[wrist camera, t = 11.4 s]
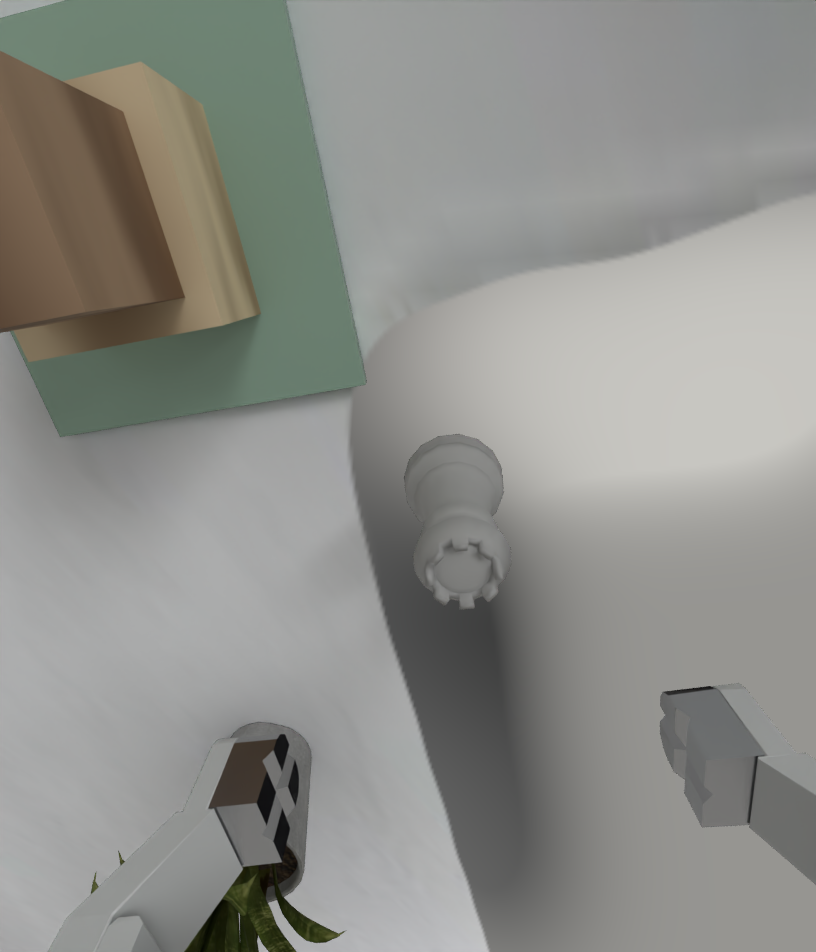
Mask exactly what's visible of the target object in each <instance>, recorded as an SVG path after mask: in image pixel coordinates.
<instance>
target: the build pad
mask: <svg viewBox="0 0 816 952" xmlns="http://www.w3.org/2000/svg"><path fill="white" fill-rule="evenodd" d="M0 51H2V52H4V53H6V54H8V55H10V56H12V57H14V58H16V59H18V60H20V61H22V62H24V63H26V64H28V65H30V66H32V67H34V68H36V69H38V70H40V71H42V72H44V73H46V74H48V75H50V76H52V77H54V78H57V79H59V80H61V81H66V80H70V79H74V78H78V77H82V76H85V75H89V74H93V73H97V72H101V71H105V70H109V69H113V68H117V67H121V66H125V65H129V64H133V63H137V62H142V63H144V64H145V65H147V66H148V67H150V68H151V69H152V70H154V71H155V72H157V73H158V74H160V75H161V76H162V77H164V78H165V79H167V80H168V81H170V82H171V83H172V84H174V85H175V86H177V87H178V88H180V89H181V90H182V91H184V92H185V93H187V94H188V95H190V96H191V97H193V98H194V99H195V100H197V101H198V102H200V103H201V104H202V105H203V108H204V112H205V115H206V119H207V122H208V126H209V129H210V133H211V137H212V140H213V144H214V147H215V151H216V154H217V158H218V162H219V165H220V169H221V172H222V176H223V179H224V183H225V186H226V190H227V194H228V197H229V201H230V204H231V208H232V211H233V215H234V219H235V222H236V226H237V229H238V233H239V236H240V240H241V243H242V247H243V251H244V254H245V258H246V261H247V265H248V268H249V272H250V276H251V279H252V283H253V286H254V290H255V293H256V297H257V300H258V304H259V308H260V311H261V314H259V315H256V316H252V317H249V318H246V319H242V320H239V321H236V322H233V323H229V324H226V325H223V326H217V327H212V328H207V329H202V330H196V331H191V332H186V333H181V334H175V335H170V336H165V337H160V338H154V339H149V340H144V341H138V342H133V343H128V344H123V345H117V346H112V347H107V348H102V349H96V350H91V351H86V352H81V353H75V354H70V355H65V356H60V357H54V358H49V359H44V360H38V361H33V362H28V360H27V358H26V356H25V354H24V352H23V350H22V348H21V345H20V343H19V341H18V339H17V337H16V335H15V333H14V331H10V332H11V334H12V336H13V338H14V340H15V342H16V345H17V347H18V349H19V351H20V353H21V355H22V357H23V359H24V361H25V364H26V366H27V368H28V370H29V372H30V374H31V376H32V378H33V380H34V383H35V385H36V387H37V389H38V391H39V393H40V395H41V397H42V399H43V402H44V404H45V406H46V408H47V410H48V412H49V414H50V416H51V418H52V421H53V423H54V425H55V427H56V429H57V431H58V433H59V435H60V437H64V436H70V435H76V434H81V433H87V432H93V431H99V430H105V429H111V428H116V427H122V426H128V425H134V424H140V423H146V422H151V421H157V420H163V419H169V418H175V417H181V416H186V415H192V414H198V413H204V412H210V411H216V410H221V409H227V408H233V407H239V406H245V405H251V404H256V403H262V402H268V401H274V400H280V399H286V398H291V397H297V396H303V395H309V394H315V393H321V392H326V391H332V390H338V389H344V388H350V387H356V386H361V385H365V384H366V381H367V380H366V376H365V371H364V366H363V361H362V357H361V352H360V347H359V343H358V338H357V333H356V329H355V324H354V319H353V314H352V310H351V305H350V300H349V296H348V291H347V286H346V282H345V277H344V272H343V268H342V263H341V258H340V253H339V249H338V244H337V239H336V235H335V230H334V225H333V221H332V216H331V211H330V206H329V202H328V197H327V192H326V188H325V183H324V178H323V174H322V169H321V164H320V160H319V155H318V150H317V145H316V141H315V136H314V131H313V127H312V122H311V117H310V113H309V108H308V103H307V98H306V94H305V89H304V84H303V80H302V75H301V70H300V66H299V61H298V56H297V52H296V47H295V42H294V37H293V33H292V28H291V23H290V19H289V14H288V9H287V5H286V0H66V1H62V2H58V3H54V4H51V5H47V6H43V7H40V8H36V9H32V10H29V11H25V12H21V13H18V14H14V15H10V16H7V17H3V18H0Z"/></svg>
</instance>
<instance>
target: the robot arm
mask: <svg viewBox="0 0 816 952" xmlns="http://www.w3.org/2000/svg"><path fill="white" fill-rule="evenodd" d="M660 706H661V708H662V710H663V712H664V714H665V716H664V718H663V719H662V720H661V721H660V735H661V739H662V743H663V748H664V751H665V753H666V756H667V759H668V761H669V763H670V765H671V767H672V769H673V771H674V772H675V773H676V774H678V775H679V776H680V777H682V778H683V779H685V790H684V791H685V792H684V793H685V795H686V797H687V799H688V801H689V803H690V805H691V807H692V809H693V811H694V813H695V815H696V817H697V819H698V821H699V823H700V825H701V827H717V826H736V825H750V826H749V827H750V828H751V829H752V830H753V831H754V832H755V833H756V834H758V835H759V836H760V837H761V838H762V839H763V840H765V841H766V842H767V843H768V844H769V845H770V846H771V847H773V848H774V849H775V850H776V851H777V852H778V853H780V854H781V855H782V856H783V857H785V859H787V860H788V861H789V862H790V863H791V864H792V865H794V866H795V867H796V868H797V869H798V870H799V871H800V872H802V873H803V874H804V875H805V876H806V877H807V878H809V879H810V880H811V881H812V882H813V883H814V884H815V885H816V759H815V758H813V757H811V756H810V755H808V754H806V753H796V752H795V751H794V749H793V748H792V747H791V745H790V744H789V743H788V742H787V741H786V739H785V738H784V736H783V735H782V734H781V733H780V732H779V730H778V729H777V728H776V726H775V725H774V724H773V722H772V721H771V720H770V719H769V717H768V716H767V715H766V714H765V712H764V711H763V710H762V708H761V707H760V706H759V705H758V703H757V702H756V701H755V700H754V698H753V697H752V696H751V694H750V693H749V692H748V691H747V689H746V688H745V687H744V686H742V685H741V684H739V683H737V684H728V685H719V686H713V687H711V686H707V687H700V688H692V689H683V690H674V691H666V692H663V693H662V694H661V699H660ZM288 749H289V742H288V740H287V738H286V735H285V734H273V735H261V736H248V737H239V738H227V739H218V740H217V741H216V742H215V743H214V744H213V746H212V747H211V749H210V752H209V754H208V756H207V758H206V761H205V763H204V765H203V767H202V769H201V772H200V774H199V776H198V778H197V781H196V783H195V785H194V787H193V790H192V792H191V794H190V796H189V798H188V801H187V803H186V805H185V807H184V810H183V812H176V813H175V814H174V815H173V816H172V817H171V818H170V819H169V820H168V821H167V822H166V823H165V824H164V825H162V826H161V827H160V828H159V829H158V830H157V831H156V832H155V833H154V834H153V835H152V836H151V837H150V838H149V839H148V840H147V841H146V842H145V843H144V844H143V845H142V846H141V847H140V848H139V849H138V850H137V851H136V852H135V853H133V854H132V855H131V856H130V857H129V858H128V859H127V860H126V861H125V862H124V863H123V864H122V865H121V866H120V867H119V868H118V869H117V870H116V871H115V872H114V873H113V874H112V875H111V876H110V877H109V878H108V879H107V880H106V881H104V882H103V883H102V884H101V885H100V886H99V887H98V888H97V889H96V890H95V891H94V892H93V893H92V894H91V895H90V896H89V897H88V898H87V899H86V900H85V901H84V902H83V903H82V904H81V905H80V906H79V907H78V908H77V909H76V910H74V911H73V912H72V913H71V914H70V915H69V916H68V917H67V918H66V920H65V922H64V923H63V925H62V927H61V929H60V931H59V932H58V934H57V936H56V938H55V940H54V941H53V943H52V945H51V947H50V949H49V950H48V952H184V951H185V950H186V949H187V947H188V946H189V944H190V943H191V942H192V940H193V939H194V937H195V936H196V935H197V933H198V932H199V930H200V929H201V928H202V926H203V925H204V923H205V922H206V921H207V919H208V918H209V916H210V915H211V913H212V912H213V911H214V909H215V908H216V906H217V905H218V904H219V902H220V901H221V899H222V898H223V897H224V895H225V894H226V892H227V891H228V890H229V888H230V887H231V885H232V884H233V883H234V881H235V880H236V878H237V877H238V876H239V874H240V873H241V871H242V870H243V868H242V867H245V866H253V865H262V864H271V863H279V862H282V861H283V856H284V852H285V848H286V844H287V840H288V836H289V832H290V826H289V824H288V821H287V819H286V817H287V816H288V815H289V814H290V813H291V811H292V810H293V809H294V808H295V807H296V802H297V798H298V793H299V773H298V767H297V764H296V761H295V759H294V758H293V757H291V756H290V755H288V754H287V752H288Z"/></svg>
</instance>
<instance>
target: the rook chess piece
mask: <svg viewBox="0 0 816 952" xmlns="http://www.w3.org/2000/svg"><path fill="white" fill-rule="evenodd" d="M404 480H405V490H406V497H407V503H408V504H409V506H410V508H411V509H412V511H413V512H414V514H415V515H416V517H417V519H418V520H419V521H421V522H422V523H423V528H422V531H421V534H420V535H421V538H420V539H419V540H418V542H417V545H416V548H415V552H414V555H413V561H414V567H415V573H416V574H417V576H418V577H419V579H420V580H421V582H422V583H423V585H424V586H425V587H426V588H428V589H429V590H431V591H432V592H433V598H434V599H435V600H437V601H438V602H440V603H441V604H443V605H444V606H445V605H446V604H447V603H448V601H449V599H453V600H457V601H459V607H460V610H461V609H473V608H475V605H474V599H477V598H479V597H481V596H483V597H484V598H485V599H486V600H487V601H488V602H490V601H491V600H492V599H493V598H494V597H495V596H496V595H497V594H498V593H499V591H498V586H499V585H500V584H501V583H502V582H503V581H504V580H505V578H506V576H507V573H508V571H509V569H510V566H511V548H510V546H509V544H508V542H507V540H506V539H505V537H504V535H503V533H502V532H501V531H499V530H498V526H497V525H496V523H495V521H494V519H493V517H492V516H493V515H494V514H495V513H496V512H497V509H498V506H499V504H500V501H501V499H502V496H503V493H504V492H503V475H502V469H501V465H500V463H499V462H498V460H497V458H496V456H495V454H494V452H493V451H492V450H491V449H489V448H488V447H487V446H486V445H484V444H483V443H482V442H481V441H479V440H478V439H475V438H471V437H467V436H464V435H460V434H455V435H446V436H438V437H436V438H434V439H433V440H431V441H429V442H427V443H425V444H423V445H421V446H420V447H419V449H418V450H417V451H416V452H415V453H414V455H413V456H412V457H411V458H410V459H409V462H408V465H407V469H406V472H405V476H404Z"/></svg>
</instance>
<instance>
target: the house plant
mask: <svg viewBox="0 0 816 952" xmlns="http://www.w3.org/2000/svg"><path fill="white" fill-rule="evenodd" d="M273 734H285V735H286V738H287V740H288V742H289V749H288V752H287V754H288V755H290V756H291V757H293V758H294V759H295V761H296V764H297V767H298V773H299V793H298V798H297V802H296V807H295V808H294V809H293V810H292V811H291V813H290V814H289V815H288V816H287V817H286V819H287V821H288V824H289V826H290V832H289V836H288V840H287V844H286V848H285V852H284V856H283V861H282V862H279V863H271V864H262V865H253V866H245V867H242V868H243V870H242V871H241V873H240V874H239V876H238V877H237V878H236V880H235V881H234V883H233V884H232V885H231V887H230V888H229V890H228V891H227V892H226V894H225V895H224V897H223V898H222V899H221V901H220V902H219V904H218V905H217V906H216V908H215V909H214V911H213V912H212V913H211V915H210V916H209V918H208V919H207V921H206V922H205V923H204V925H203V926H202V928H201V929H200V930H199V932H198V933H197V935H196V936H195V937H194V939H193V940H192V942H191V943H190V944H189V946H188V947H187V949H186V950H185V951H184V952H259V951H258V944H257V938H258V936H259V938H260V940H261V942H262V944H263V945H264V946H265V947H266V949H267V950H268V951H269V952H296V951H295V949H294V948H293V947H292V945H291V944H290V943H289V942H288V940H287V939H286V938H285V937H284V935H283V934H282V932H281V931H280V929H279V927H278V926H277V924H276V922H275V919H274V916H273V914H272V911H271V909H270V907H269V905H268V903H269V902H272V901H275V900H277V901H278V903H279V906H280V909H281V911H282V914H283V915H284V917H285V918H286V919H287V921H288V922H289V924H290V925H291V926H292V927H293V929H294V930H295V931H296V932H297V933H298V934H299V935H300V936H301V937H303V938H304V939H305V940H306V941H310V942H314V943H324V942H328V941H330V940H332V939H334V938H337V937H339V936H340V935H341V934H342V933H344V932H345V931H344V932H341V933H339V934H338V933H336V932H334V931H332V930H330V929H328V928H326V927H324V926H322V925H320V924H318V923H316V922H314V921H312V920H311V919H309V918H307V917H305V916H304V915H303V914H301V913H300V912H298V911H297V910H296V909H295V908H294V907H293V906H291V905H290V904H289V903H288V902H287V900H286V899H285V898H284V897H285V896H286V895H288V894H289V893H291V892H293V890H294V889H295V888H296V887H297V886H298V885H299V883H300V882H301V880H302V876H303V873H304V866H305V850H306V835H307V819H308V804H309V789H310V773H311V750H310V748H309V746H308V744H307V742H306V741H305V740H304V739H303V737H302V736H301V735H299V734H298V733H296V732H295V731H294V730H292V729H289V728H286V727H283V726H280V725H275V724H271V723H261V722H259V723H253V724H248V725H246V726H244V727H241V728H240V729H238V730H237V731H236V732H235V733H234V734H233V735H232V737H231V738H239V737H248V736H261V735H273ZM118 852H119V851H118ZM119 858H120V864H121V865H122V864H123V863H124V862H125V861H124V860H122V858H121V855H120V853H119ZM95 879H96V873H95V877H94V881H93V885H92V891H91V894H92V893H93V892H94V891H95V890H96V889H97V888H98V885H97V883H96V882H95ZM238 912H239V914H240V933H239V914H238Z"/></svg>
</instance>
